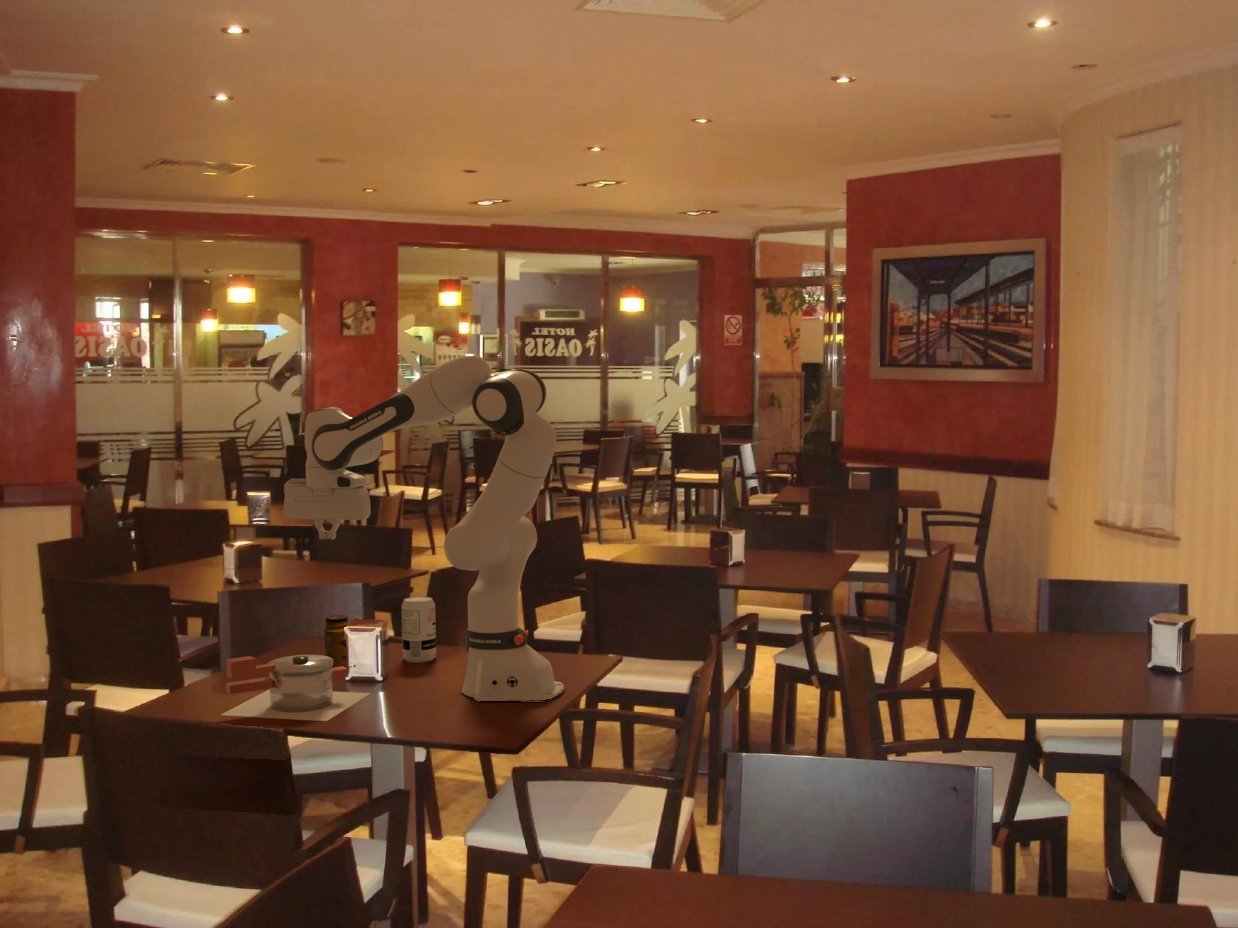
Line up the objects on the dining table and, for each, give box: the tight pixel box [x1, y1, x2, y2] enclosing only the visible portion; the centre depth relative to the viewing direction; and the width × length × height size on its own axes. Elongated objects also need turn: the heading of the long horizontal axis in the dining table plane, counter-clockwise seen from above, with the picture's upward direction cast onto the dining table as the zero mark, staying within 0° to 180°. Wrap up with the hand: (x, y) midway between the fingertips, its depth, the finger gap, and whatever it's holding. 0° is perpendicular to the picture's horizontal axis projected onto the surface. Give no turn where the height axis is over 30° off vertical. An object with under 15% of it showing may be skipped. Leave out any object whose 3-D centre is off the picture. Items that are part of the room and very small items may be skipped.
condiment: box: [324, 614, 349, 667], centre depth 309 cm, size 7×8×12 cm
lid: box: [225, 654, 333, 680], centre depth 270 cm, size 22×14×4 cm, turn 127°
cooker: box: [225, 666, 349, 712], centre depth 272 cm, size 20×20×8 cm
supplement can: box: [401, 596, 437, 664], centre depth 315 cm, size 8×8×15 cm
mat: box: [220, 688, 372, 722], centre depth 274 cm, size 24×22×1 cm
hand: (327, 538), depth 292 cm, fingers closed
